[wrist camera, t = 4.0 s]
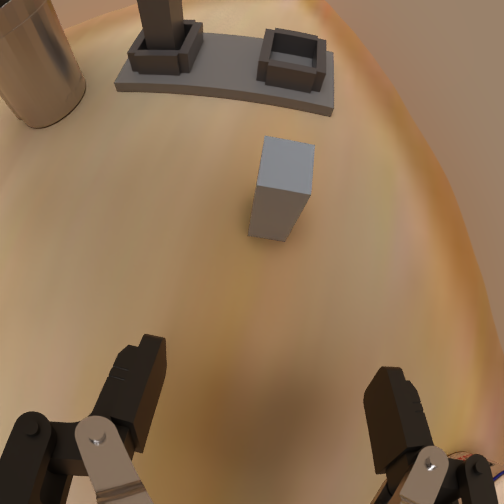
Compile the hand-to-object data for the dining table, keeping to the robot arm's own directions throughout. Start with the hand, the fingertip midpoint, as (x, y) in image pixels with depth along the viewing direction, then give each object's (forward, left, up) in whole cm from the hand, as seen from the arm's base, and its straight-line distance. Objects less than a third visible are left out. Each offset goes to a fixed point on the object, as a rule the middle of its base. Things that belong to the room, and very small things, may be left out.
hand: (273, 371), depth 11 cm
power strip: (-7, +29, -14) cm, 34 cm away
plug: (0, +11, -15) cm, 18 cm away
